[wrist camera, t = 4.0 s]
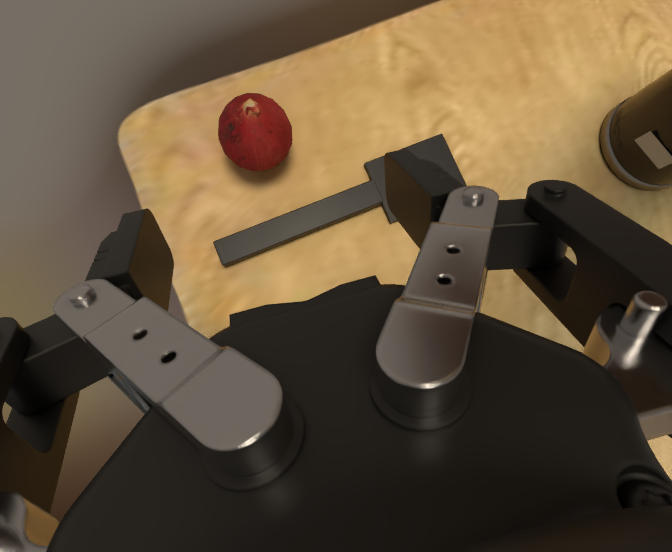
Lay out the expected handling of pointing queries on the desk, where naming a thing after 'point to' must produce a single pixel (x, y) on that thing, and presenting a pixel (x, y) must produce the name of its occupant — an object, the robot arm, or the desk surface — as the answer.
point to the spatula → (329, 207)
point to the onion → (255, 132)
